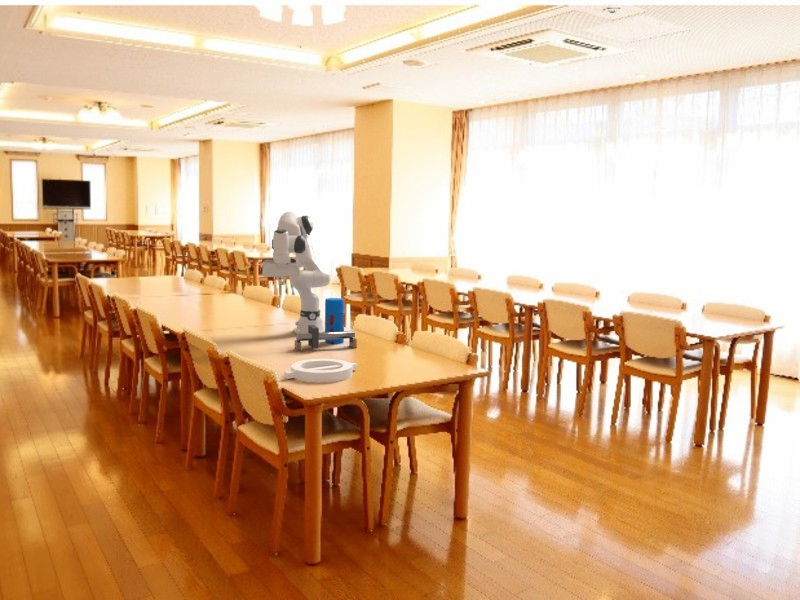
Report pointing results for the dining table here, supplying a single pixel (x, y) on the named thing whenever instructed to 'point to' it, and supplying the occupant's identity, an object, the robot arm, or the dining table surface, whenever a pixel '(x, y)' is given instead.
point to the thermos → (334, 318)
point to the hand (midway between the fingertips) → (281, 284)
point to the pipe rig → (327, 336)
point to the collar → (314, 336)
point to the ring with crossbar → (321, 370)
